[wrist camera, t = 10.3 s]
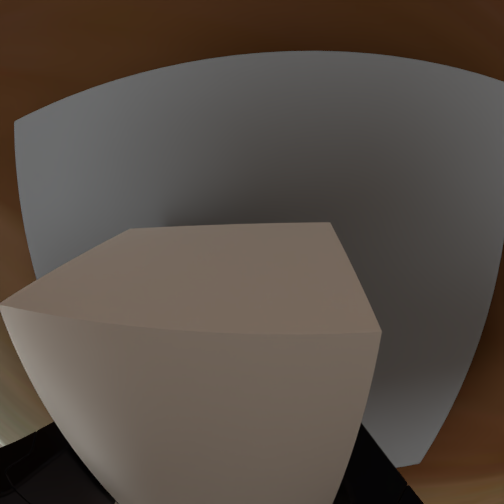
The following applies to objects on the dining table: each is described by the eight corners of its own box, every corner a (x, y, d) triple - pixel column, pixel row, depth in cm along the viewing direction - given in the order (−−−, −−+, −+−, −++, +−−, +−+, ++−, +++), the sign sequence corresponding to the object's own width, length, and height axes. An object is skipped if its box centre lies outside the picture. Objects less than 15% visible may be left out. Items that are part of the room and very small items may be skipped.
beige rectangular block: (332, 221, 7) (388, 333, 2) (312, 456, 9) (308, 558, 5) (129, 228, 7) (-6, 304, 3) (185, 446, 10) (151, 536, 6)
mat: (417, 455, 12) (419, 463, 11) (114, 438, 14) (110, 445, 14) (494, 84, 6) (503, 81, 6) (24, 121, 9) (14, 121, 8)
